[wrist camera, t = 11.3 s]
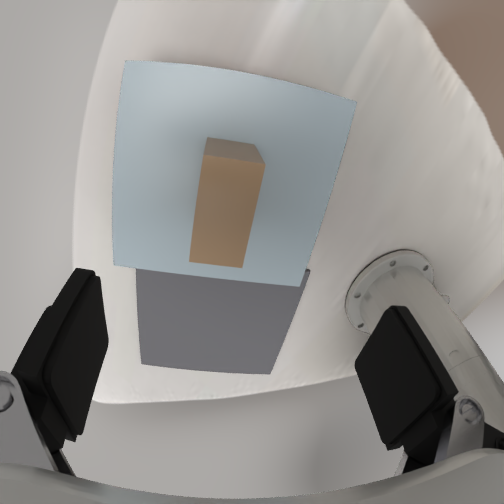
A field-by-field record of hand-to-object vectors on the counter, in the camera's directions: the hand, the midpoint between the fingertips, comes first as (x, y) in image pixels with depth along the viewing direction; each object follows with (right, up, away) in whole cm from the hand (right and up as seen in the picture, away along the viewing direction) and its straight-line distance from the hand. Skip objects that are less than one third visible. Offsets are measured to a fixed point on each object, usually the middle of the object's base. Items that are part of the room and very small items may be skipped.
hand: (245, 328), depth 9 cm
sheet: (-2, +7, +11) cm, 13 cm away
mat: (-4, -6, +26) cm, 27 cm away
